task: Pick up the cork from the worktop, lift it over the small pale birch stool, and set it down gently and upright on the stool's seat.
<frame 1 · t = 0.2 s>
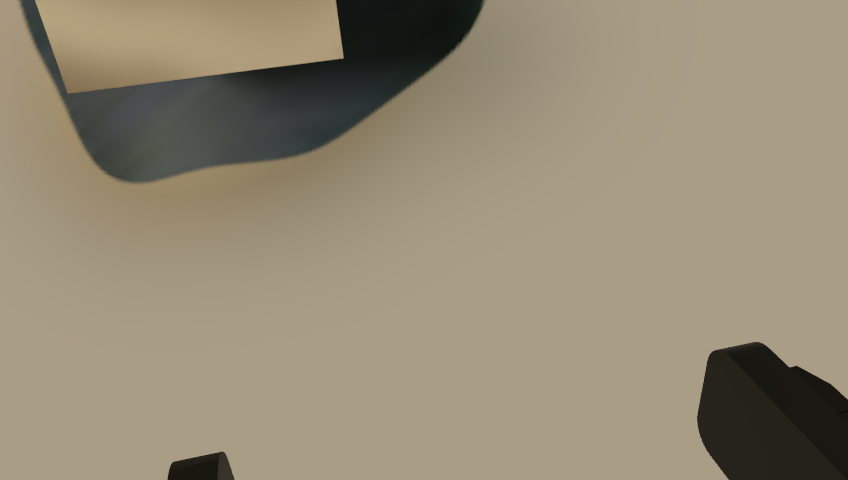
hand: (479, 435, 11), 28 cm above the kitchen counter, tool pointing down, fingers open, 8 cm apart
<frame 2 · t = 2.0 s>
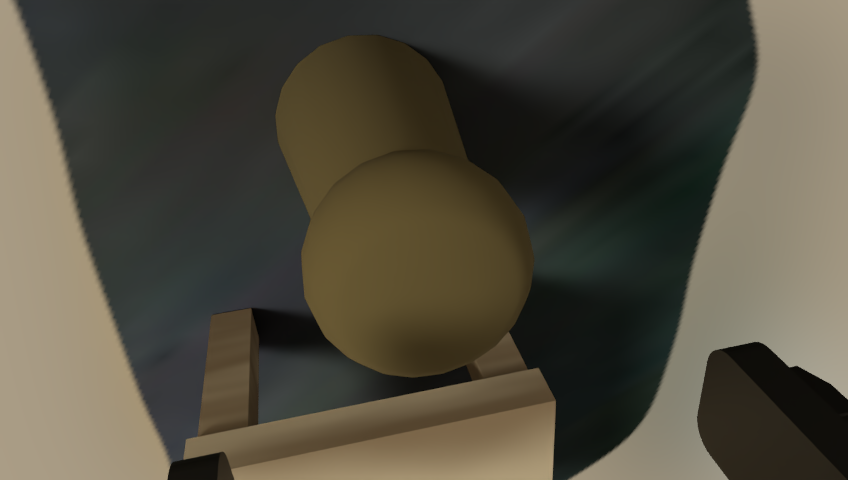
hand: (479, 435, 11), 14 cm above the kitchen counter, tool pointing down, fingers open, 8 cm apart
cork: (364, 121, 23), on the kitchen counter
birch stool: (363, 388, 29), on the kitchen counter
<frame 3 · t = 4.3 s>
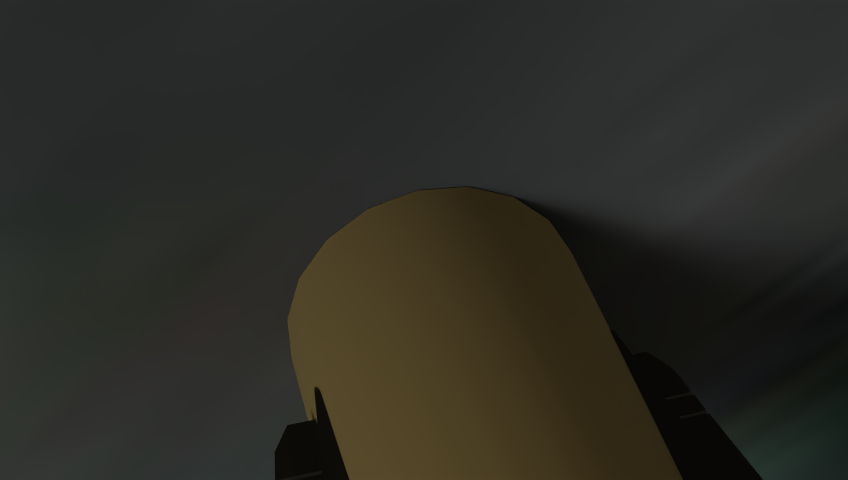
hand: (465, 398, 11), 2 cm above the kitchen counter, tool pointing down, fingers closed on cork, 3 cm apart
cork: (436, 316, 14), on the kitchen counter, touching gripper
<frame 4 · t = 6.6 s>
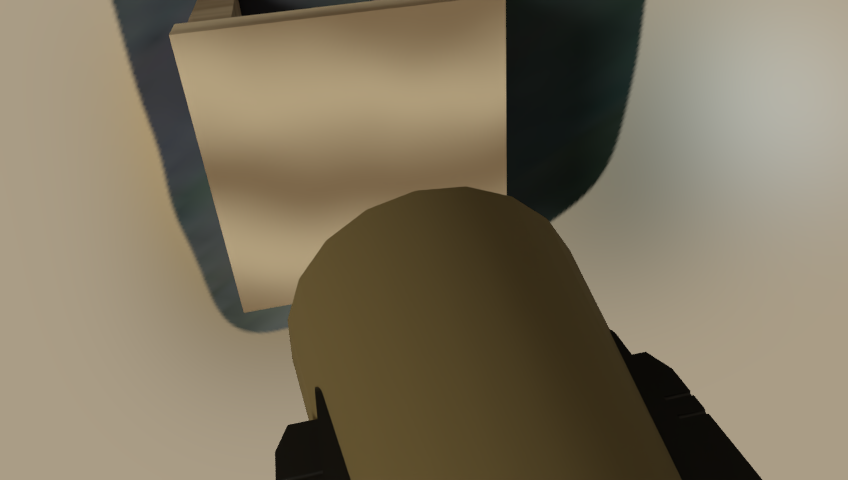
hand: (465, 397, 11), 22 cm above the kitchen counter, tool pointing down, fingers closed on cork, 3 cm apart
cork: (436, 315, 14), point 20 cm above the kitchen counter, touching gripper
birch stool: (341, 97, 31), on the kitchen counter
when the fingers open (12 cm above the kitchen counter, at t = 9.3 s): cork drops 1 cm, resting on birch stool.
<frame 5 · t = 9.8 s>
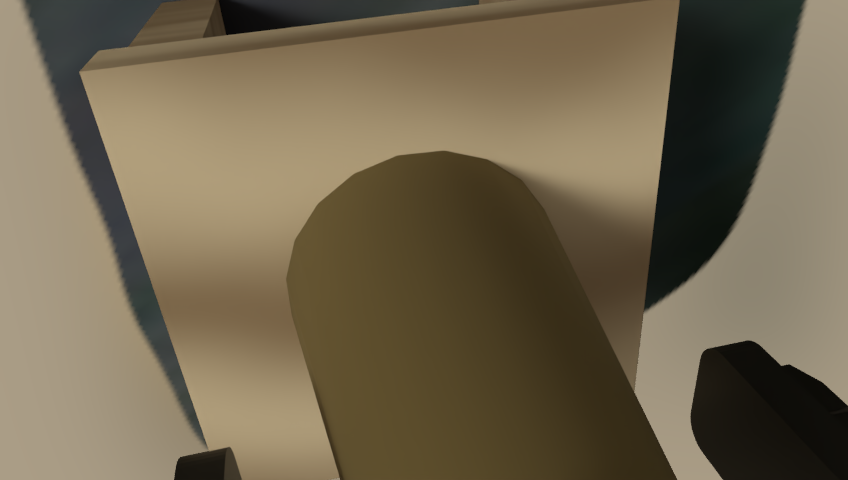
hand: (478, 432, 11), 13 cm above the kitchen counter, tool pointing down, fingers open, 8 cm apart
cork: (423, 273, 15), point 8 cm above the kitchen counter, touching birch stool
birch stool: (372, 151, 21), on the kitchen counter
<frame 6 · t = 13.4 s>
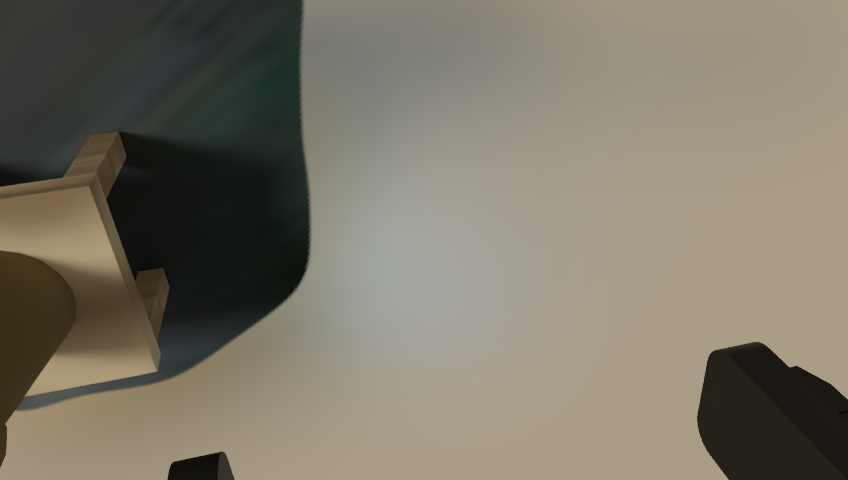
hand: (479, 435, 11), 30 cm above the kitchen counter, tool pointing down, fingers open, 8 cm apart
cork: (8, 302, 32), point 8 cm above the kitchen counter, touching birch stool
birch stool: (52, 229, 38), on the kitchen counter
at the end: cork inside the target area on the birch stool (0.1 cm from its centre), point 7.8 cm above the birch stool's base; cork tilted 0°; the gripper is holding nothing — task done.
